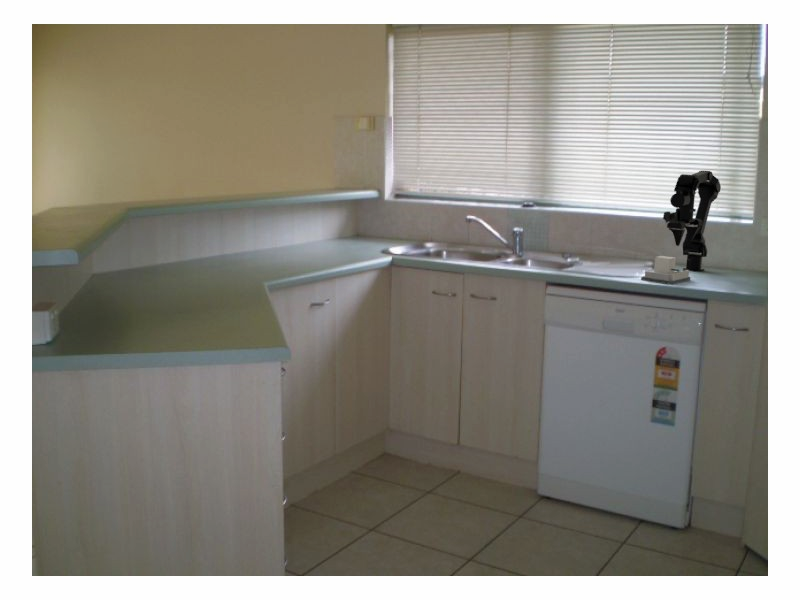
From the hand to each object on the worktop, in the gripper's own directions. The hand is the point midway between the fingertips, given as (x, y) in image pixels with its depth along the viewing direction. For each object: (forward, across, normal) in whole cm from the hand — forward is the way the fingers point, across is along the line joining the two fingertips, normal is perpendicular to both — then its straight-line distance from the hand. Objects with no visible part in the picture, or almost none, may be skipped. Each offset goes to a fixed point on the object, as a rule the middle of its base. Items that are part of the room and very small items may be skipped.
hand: (683, 244), depth 360 cm
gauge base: (+12, +17, +3) cm, 21 cm away
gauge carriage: (+10, +19, +4) cm, 22 cm away
